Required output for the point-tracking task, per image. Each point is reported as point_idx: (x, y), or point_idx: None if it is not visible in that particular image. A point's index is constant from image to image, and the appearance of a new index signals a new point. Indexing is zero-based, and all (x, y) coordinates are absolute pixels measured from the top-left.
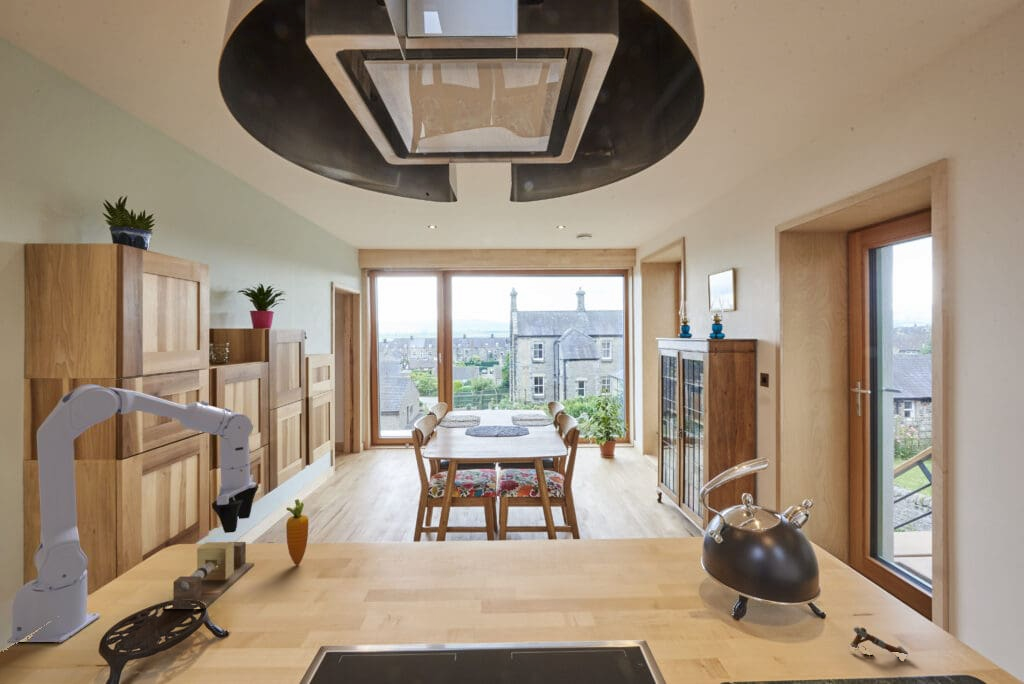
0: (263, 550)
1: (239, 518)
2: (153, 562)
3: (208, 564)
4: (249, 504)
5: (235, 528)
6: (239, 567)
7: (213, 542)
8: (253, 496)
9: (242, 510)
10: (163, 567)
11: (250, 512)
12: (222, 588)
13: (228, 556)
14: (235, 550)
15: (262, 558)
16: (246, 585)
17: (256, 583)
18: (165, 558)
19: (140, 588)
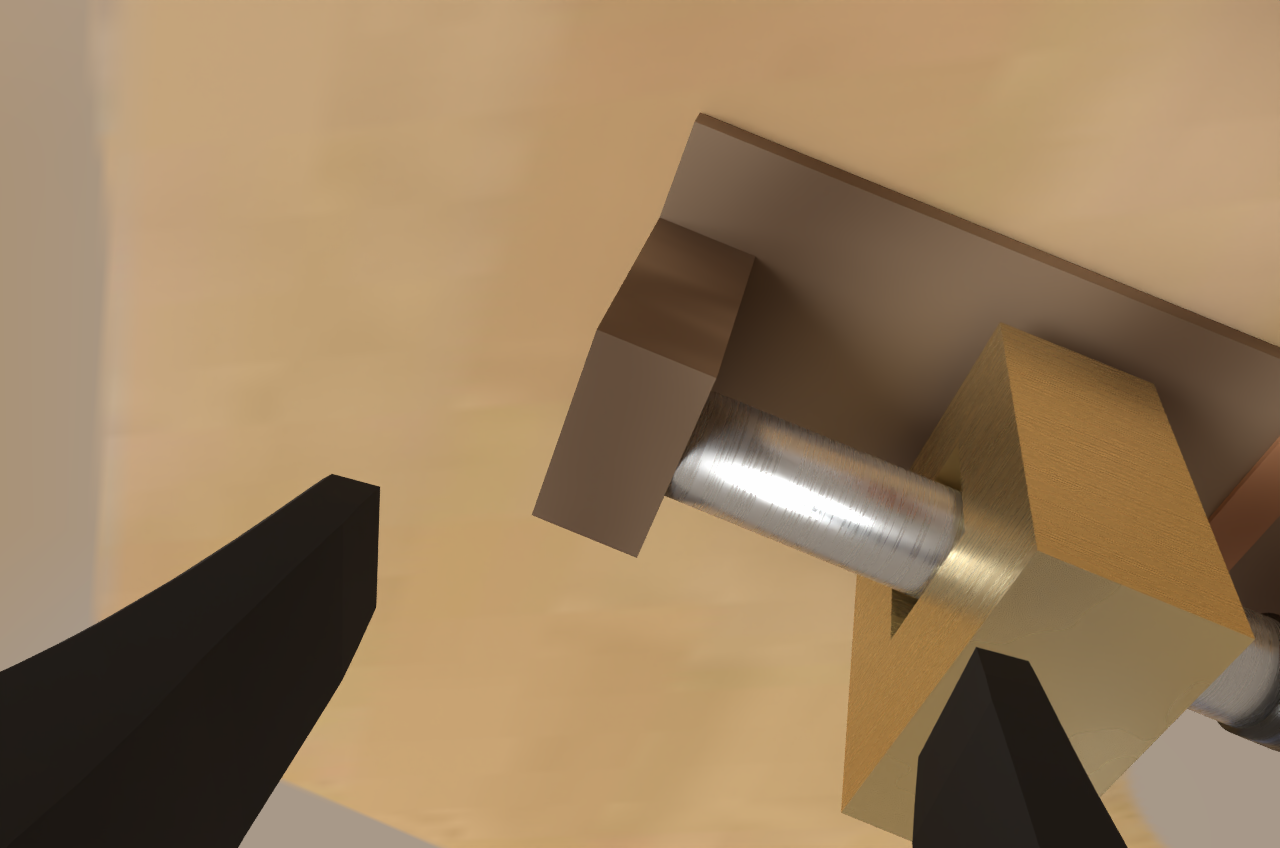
0: (301, 51)
1: (370, 607)
2: (387, 806)
3: None
4: (221, 668)
5: (1043, 699)
6: (764, 267)
7: (891, 754)
8: (7, 741)
9: (299, 678)
10: (488, 760)
11: (284, 513)
12: (1245, 378)
13: (1147, 507)
14: (722, 405)
15: (526, 36)
16: (1243, 139)
17: (1263, 24)
18: (335, 757)
19: (798, 843)
